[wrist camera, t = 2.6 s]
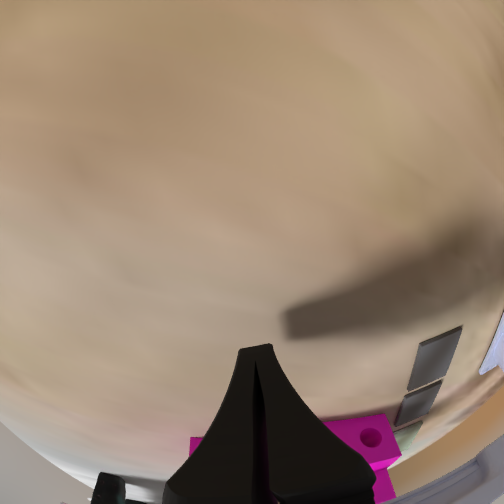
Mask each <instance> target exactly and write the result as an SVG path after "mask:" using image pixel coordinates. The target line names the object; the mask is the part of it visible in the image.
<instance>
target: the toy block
mask: <svg viewBox="0 0 504 504" xmlns="http://www.w3.org/2000/svg"><path fill="white" fill-rule="evenodd" d="M322 423H323V424H324V425H326V426H327V427H328V428H329V429H330V430H331V431H332V432H333V433H334V434H335V435H336V436H337V437H339V438H340V439H341V440H342V441H343V442H345V443H346V444H347V445H349V446H350V447H351V448H352V449H354V450H355V451H357V452H358V453H359V454H361V455H362V456H363V457H364V459H365V460H366V461H367V462H368V464H369V465H370V466H371V468H372V469H373V471H374V473H375V475H376V478H377V479H376V482H375V484H374V485H373V487H372V488H373V491H374V500H375V504H380V503H383V502H386V501H389V500H391V499H394V498H396V495H395V492H394V489H393V486H392V483H391V480H390V477H389V474H388V471H387V468H388V467H389V466H390V465H391V464H392V463H394V462H395V461H396V460H397V459H398V458H399V457H400V456H402V454H401V451H400V449H399V446H398V444H397V441H396V439H395V437H394V434H393V432H392V429H391V427H390V424H389V422H388V420H387V417H386V415H385V413H384V414H379V415H373V416H367V417H361V418H354V419H347V420H339V421H330V422H322ZM202 439H203V438H194V437H190V451H189V457H190V455H191V454H192V453H193V451H194V450H195V449H196V448H197V446H198V445H199V443H200V442H201V440H202Z"/></svg>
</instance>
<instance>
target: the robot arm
mask: <svg viewBox="0 0 504 504" xmlns="http://www.w3.org/2000/svg"><path fill="white" fill-rule="evenodd" d="M497 365H499V367H500V368H501V369H502V371H503V372H504V312H503V315H502V318H501V321H500V323H499V326H498V329H497V331H496V334H495V336H494V339H493V341H492V343H491V346H490V348H489V350H488V352H487V355H486V357H485V359H484V361H483V363H482V365H481V367H480V369H479V373H480V375H482V374H484V373H485V372H487V371H489V370H490V369H492V368H494V367H495V366H497ZM376 479H377V478H376V475H375V473H374V471H373V469H372V468H371V466H370V465H369V464H368V462H367V461H366V460H365V459H364V457H363V456H362V455H361V454H359V453H358V452H357V451H355V450H354V449H352V448H351V447H350V446H349V445H347V444H346V443H345V442H343V441H342V440H341V439H340V438H339V437H337V436H336V435H335V434H334V433H333V432H332V431H331V430H330V429H329V428H328V427H327V426H326V425H324V424H323V423H322V422H321V421H320V420H319V419H318V418H317V416H316V415H315V414H314V413H313V412H312V411H311V410H310V409H309V407H308V406H307V405H306V404H305V403H304V401H303V400H302V399H301V398H300V396H299V395H298V393H297V392H296V391H295V389H294V388H293V386H292V385H291V383H290V382H289V380H288V379H287V377H286V375H285V374H284V372H283V370H282V368H281V366H280V364H279V362H278V360H277V358H276V356H275V353H274V350H273V345H272V344H270V343H268V344H263V345H258V346H253V347H247V348H242V349H240V350H239V351H238V356H237V361H236V365H235V369H234V372H233V375H232V378H231V381H230V384H229V387H228V390H227V392H226V395H225V397H224V400H223V402H222V404H221V407H220V409H219V411H218V413H217V415H216V417H215V419H214V421H213V422H212V424H211V426H210V428H209V429H208V431H207V433H206V434H205V436H204V437H203V439H202V440H201V442H200V443H199V445H198V446H197V448H196V449H195V450H194V451H193V453H192V454H191V455H190V457H189V458H188V459H187V460H186V462H185V463H184V464H183V465H182V466H181V467H180V468H179V469H178V470H177V471H176V473H175V474H174V475H173V476H172V477H171V478H170V479H169V480H168V481H167V482H166V485H165V489H164V493H163V501H162V504H278V502H279V504H375V500H374V491H373V488H372V487H373V485H374V484H375V482H376ZM502 494H504V434H503V435H502V436H501V437H499V438H498V439H496V440H495V441H494V442H492V443H491V444H489V445H488V446H487V447H485V448H484V449H483V450H482V451H480V452H479V453H478V454H477V455H476V457H475V458H473V459H471V460H470V461H468V462H467V463H465V464H463V465H462V466H460V467H458V468H457V469H455V470H453V471H451V472H450V473H447V474H446V475H444V476H442V477H440V478H438V479H436V480H434V481H432V482H430V483H428V484H426V485H424V486H422V487H420V488H417V489H415V490H413V491H411V492H408V493H406V494H404V495H401V496H399V497H396V498H394V499H391V500H389V501H386V502H383V503H380V504H490V503H492V502H493V501H494V500H496V499H497V498H498V497H500V496H501V495H502ZM61 504H66V503H63V502H62V503H61Z"/></svg>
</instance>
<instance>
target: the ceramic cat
mask: <svg viewBox="0 0 504 504" xmlns="http://www.w3.org/2000/svg"><path fill="white" fill-rule="evenodd" d="M125 494H126V490H125V481H124V480H122V479H121V478H120V477H117V476H113V475H108V474H105V473H99V476H98V479H97V483H96V486H95V489H94V492H93V496H92V500H91V504H146V503H143V502H139V501H134V500H129V499H126V500H125Z"/></svg>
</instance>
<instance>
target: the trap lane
mask: <svg viewBox="0 0 504 504" xmlns="http://www.w3.org/2000/svg"><path fill="white" fill-rule="evenodd" d="M461 332H462V328H461V327H458V328H456V329H453V330H451V331H449V332H447V333H444V334H442V335H440V336H437V337H435V338H432V339H430V340H427V341H425V342H422V343H420V344H419V348H418V352H417V356H416V359H415V363H414V367H413V370H412V374H411V377H410V380H409V384H408V387H407V390H408V392H409V391H411V390H414V389H416V388H418V387H421V386H423V385H425V384H428V383H430V382H432V381H434V380H437V379H439V378H441V377H443V376H445V375H446V373H447V370H448V368H449V365H450V363H451V360H452V358H453V355H454V352H455V349H456V347H457V344H458V341H459V338H460V335H461ZM441 385H442V381H441V380H440V381H438V382H436V383H434V384H431V385H429V386H427V387H425V388H422V389H420V390H418V391H415V392H413V393H410V394H408V395H406V396H404V399H403V402H402V405H401V407H400V410H399V413H398V416H397V418H396V421H395V424H394V426H395V427H397V426H399V425H402V424H404V423H407V422H409V421H412V420H414V419H416V418H419V417H421V416H423V415H425V414H427V413H428V412H429V410H430V408H431V406H432V404H433V402H434V400H435V398H436V396H437V393H438V391H439V389H440V387H441ZM422 424H423V422H422V421H420V422H418V423H416V424H413V425H411V426H408V427H406V428H404V429H401V430H399V431H396V432H394V433H393V434H394V437H395V439H396V441H397V444H398V446H399V449H400V451H401V452H402V451H405V450H407V449H408V448H409V446H410V445H411V443H412V441H413V440H414V438H415V436H416V434H417V433H418V431H419V429H420V427H421V425H422ZM278 504H279V502H278Z"/></svg>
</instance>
